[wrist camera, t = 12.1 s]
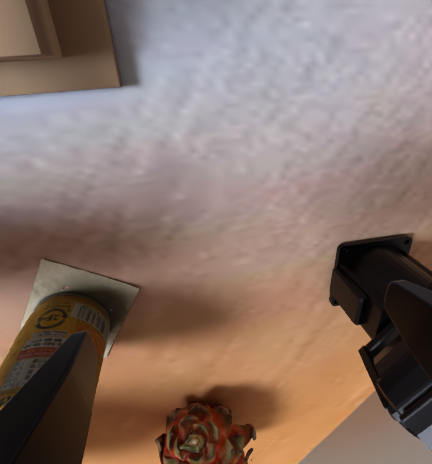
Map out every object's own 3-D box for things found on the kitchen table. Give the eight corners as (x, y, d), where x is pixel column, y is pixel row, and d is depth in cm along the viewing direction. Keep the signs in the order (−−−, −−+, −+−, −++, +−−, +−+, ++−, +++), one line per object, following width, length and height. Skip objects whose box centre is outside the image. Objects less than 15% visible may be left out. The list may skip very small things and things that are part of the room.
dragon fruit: (169, 369, 31) (229, 399, 38) (119, 454, 28) (194, 469, 35) (224, 416, 25) (283, 441, 32) (167, 531, 22) (246, 531, 29)
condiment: (17, 338, 24) (-97, 540, 14) (42, 257, 21) (-80, 437, 11) (106, 356, 26) (67, 539, 16) (140, 286, 23) (119, 455, 13)
